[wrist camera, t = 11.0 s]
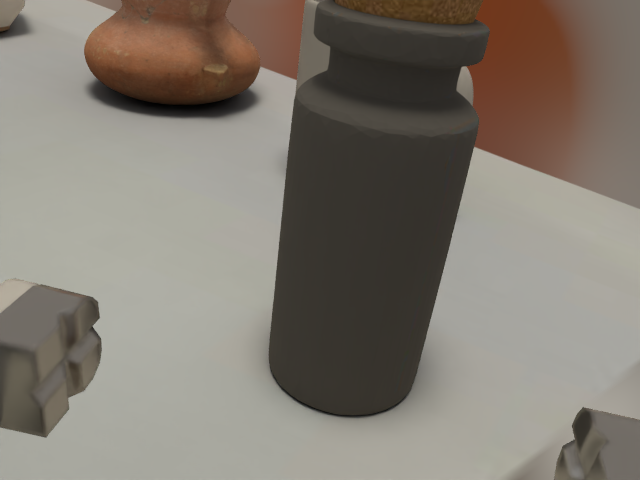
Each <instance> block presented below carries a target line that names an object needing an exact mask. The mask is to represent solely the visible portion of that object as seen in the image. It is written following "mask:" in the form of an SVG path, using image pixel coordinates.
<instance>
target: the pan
mask: <svg viewBox="0 0 640 480" xmlns="http://www.w3.org/2000/svg"><path fill="white" fill-rule="evenodd" d="M24 6H25V0H0V32H2V31H5V30H8V29H10V25H11V23H12V22H13V21H14V19H15V18H16V17H17V15H18V14H19V13H20V12H21V10H22V9H23V8H24Z"/></svg>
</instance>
